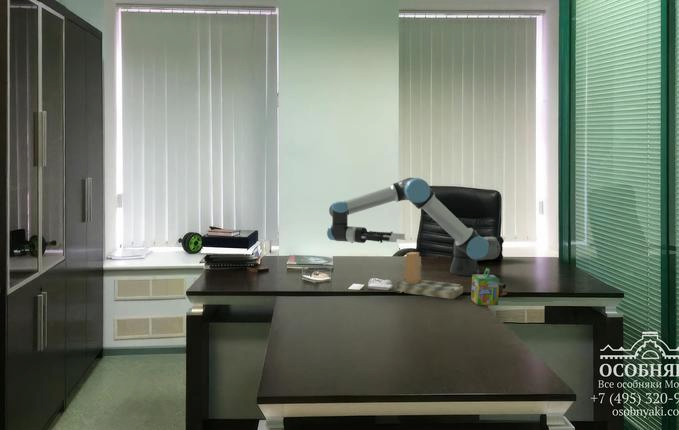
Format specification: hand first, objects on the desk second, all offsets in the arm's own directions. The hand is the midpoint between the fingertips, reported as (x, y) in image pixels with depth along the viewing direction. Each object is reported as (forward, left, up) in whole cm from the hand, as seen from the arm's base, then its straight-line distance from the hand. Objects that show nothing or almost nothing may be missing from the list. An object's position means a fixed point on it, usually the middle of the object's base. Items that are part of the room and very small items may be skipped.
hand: (400, 238), depth 270 cm
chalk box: (-25, +34, -24) cm, 49 cm away
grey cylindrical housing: (-71, -56, -24) cm, 94 cm away
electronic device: (-37, +22, -24) cm, 50 cm away
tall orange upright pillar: (-4, +4, -21) cm, 21 cm away
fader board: (-10, +10, -24) cm, 28 cm away
